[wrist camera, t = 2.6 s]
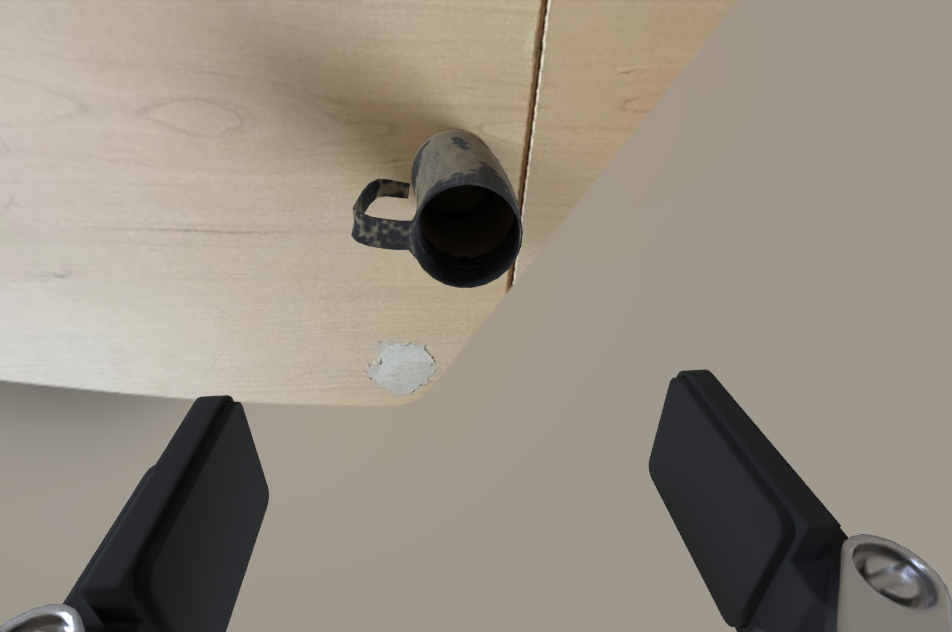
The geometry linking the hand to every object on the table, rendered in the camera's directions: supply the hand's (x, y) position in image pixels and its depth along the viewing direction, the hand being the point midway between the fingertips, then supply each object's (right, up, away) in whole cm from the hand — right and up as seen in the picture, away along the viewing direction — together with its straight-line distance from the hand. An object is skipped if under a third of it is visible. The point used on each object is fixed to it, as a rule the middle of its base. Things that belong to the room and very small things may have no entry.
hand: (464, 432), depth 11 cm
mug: (-2, +12, +20) cm, 24 cm away
